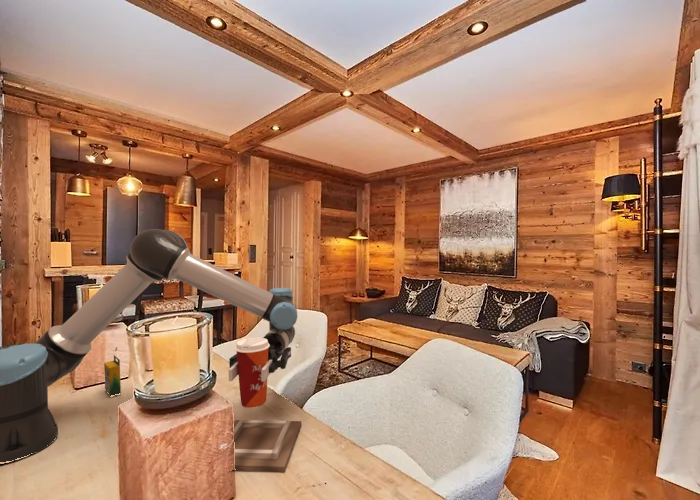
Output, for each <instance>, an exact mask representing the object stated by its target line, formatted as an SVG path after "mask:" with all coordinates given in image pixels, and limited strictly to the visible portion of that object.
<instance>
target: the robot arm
mask: <svg viewBox="0 0 700 500" xmlns="http://www.w3.org/2000/svg"><path fill="white" fill-rule="evenodd" d="M163 279H166V280H169V281H172V280H175V279H176V280H178V281H179V282H182V283H185V284H186V285H189V286H191V287H193V288H195V289H198V290H200V291H202V292H204V293H206V294H208V295H211V296H213V297H215V298H218V299H219V300H222V301H224V302H226V303H228V304H230V305H233V306H234V307H237V308H239V309H240V310H244V311H246V312H248V313H250V314H252V315H255V316H257V317H259V318H261V319H262V320H264V321H267V322H268V323H269V324H268V325H269V330H268V332H267V333H266V334H265V335H264V336H263V337H262V338H265V339H267V340H268V343H269V344H270V347H269V348H268V362H267V363H266V365H265V366H264V367H263V368H262V370H261V381H265V380H266V379H267V380H268V378H269V376H270V375H271V374H274V373H275V372H276V370H278V369H279V368H280V369H281V370H284V369H286V367H287V364H288V360H289V359H290V358H291V357H292V347H290V346H289V345H290V344H291V343H292V342H293V340H294V338H295V335H296V329H295V326H294V325H296V323H297V320H298V311H297V307H296V306H295V305H294V303H293V298H294V297H293V290H292V289H291V288H290V287H276V288H275V287H274V288H271V289H270V290H269V291H268V290H266V289H263V288H262V287H259V286H258V285H255V284H253V283H251V282H249V281H247V280H245V279H243V278H242V277H239V276H237V275H235V274H233V273H231V272H229V271H228V270H225V269H223V268H222V267H221V268H220V267H218V266H217V265H214V264H212V263H210V262H208V261H206V260H204V259H202V258H200V257H199V256H196V255H193V254H192V253H191V251H190V248H189V247H188V245H187V242H186V240H185V239H184V238H183V237H182V235H180V234H179V233H176V232H175V231H173V230H168V229H159V228H151V229H146V230H143V231H141V232H139V233H137V235H135V237H134V238H133V239H132V241H131V243H130V248H129V253H128V254H127V255H126V264H125V265H124V266H123V267H122V268H120V269H119V270H118V271H117V272H116V273H115V274H114V275H113V276H112V277H111V278H110V279H109V280H108V281H107V282H105V284H104V285H103V286H102V287H100V288H99V290H98V291H97V292H96V293H95V294H93V295H92V296H91V297H89V299H88V300H87V301H86V302H85V303H83V305H82V306H81V307H80V308H78V310H77V311H76V312H74V313H73V314H72V316H70V317H69V318H68V319H67V320H66V321H65V322H64V323H63V324H60V325H59V324H58V325H54V326H51V327H50V328H49V329H48V330H47V331H45V333H44V334H43V335H41V336H40V338H38V339H37V340H36V341H35V342H34V343H23V344H18V345H17V344H16V345H12V346H9V347H7V348H2V349H0V462H6V461H12V460H15V459H17V458H21V457H24V456H27V455H29V454H31V453H34V452H37V451H39V450H41V449H42V448H44V447H46V446H47V445H49V444H50V443H51V442H52V441H54V439H55V438H56V437H57V435H58V436H59V426H58V424H57V422H56V421H55V418H54V415H53V414H52V412H51V410H50V408H49V404H48V403H49V401H48V400H49V397H48V396H49V394H48V392H49V389H48V387H51V385H53V384H54V383H56V382H57V381H58V380H60V379H62V378H63V377H65V376H67V375H69V374H71V373H72V372H73V371H74V370H75V369H77V367H79V365H80V364H81V363H82V361H83V360H84V358H85V356H86V355H87V354H89V353H90V351H91V349H92V342H93V341H94V340H95V339H96V338H97V337H98V336H99V335H100V334H101V333H102V332H103V331H104V330H105V329H106V328H107V327H108V326H109V325H110V324H111V323H112V322H113V321H114V320H115V319H116V318H117V317H119V315H120V314H121V313H122V312H124V311H125V309H126V308H128V307H129V305H130V304H132V303H133V301H135V300H136V299H137V298H138V296H140V295H141V294H142V293H143V292H144V291H145V290H147V288H148V287H149V285H151V284H152V283H154V282H155V283H157V282H161V281H162V280H163ZM278 359H280V360H278ZM228 362H229V368H228V382H233V381H234V380H235V378H236V377H238V376H239V375H238V363H237V353H235V354H234V355H233V356H230V358H228ZM57 438H58V437H57ZM54 442H55V441H54ZM50 445H51V444H50ZM50 445H49V446H50ZM47 447H48V446H47ZM47 447H46V448H47ZM44 449H45V448H44ZM41 451H42V450H41ZM39 452H40V451H39ZM37 453H38V452H37Z"/></svg>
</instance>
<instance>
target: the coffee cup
mask: <svg viewBox="0 0 700 500" xmlns="http://www.w3.org/2000/svg"><path fill="white" fill-rule="evenodd" d="M269 347H270V344H269V343H268V340H267V339H265V338H263V337H259V336H257V337H255V336H254V337H247V338H243V339H240V340H239V341H237V342H236V346H235V347H234V350H235V352H236V354H237V363H238V375H237V376H238V383H239V385H238V386H239V396H240V404H241V406H242V407H244V408H247V409H248V408H249V409H251V408H252V409H253V408H257V407H260V406H263V405H264V404H265V403H266V402H267V396H268V395H267V394H268V378H267V379H266V380H265V381H261V370H262V368H263V367H264V366H265V365H266V363H267V362H268V348H269Z"/></svg>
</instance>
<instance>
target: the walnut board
mask: <svg viewBox="0 0 700 500" xmlns="http://www.w3.org/2000/svg"><path fill="white" fill-rule="evenodd" d="M233 422H234V442H235V469H236V472H262V473H263V472H264V473H265V472H267V473H285V472H286V470H287V467H288V464H289V462H290V460H291V459H290V458H291V456H292V454H293V450H294V447H295V445H296V442H297V439H298V436H299V434H300V430H301V429H302V421H300V420H270V419H269V420H265V419H264V420H262V419H235V420H234V421H233ZM300 428H301V429H300Z"/></svg>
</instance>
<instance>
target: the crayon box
mask: <svg viewBox="0 0 700 500" xmlns="http://www.w3.org/2000/svg"><path fill="white" fill-rule="evenodd" d="M103 365H104V368H103V370H104V390H105V389H106V391H107V392H108V393H109V394H110V396H111V395H115V394H119V393H121V394H122V387H121V359H119V358H118V357H117V356H116V354H115V355H114V354H113V360H111V361H110V360H109V361H105V362H103ZM106 391H105V392H106ZM107 392H106V393H107ZM108 393H107V394H108ZM110 396H109V397H110Z"/></svg>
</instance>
